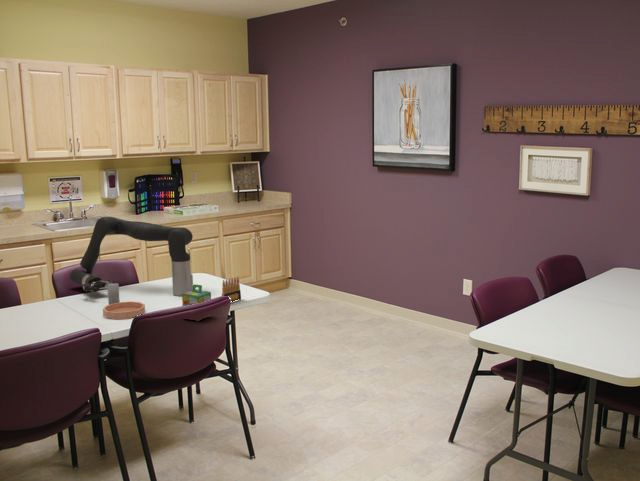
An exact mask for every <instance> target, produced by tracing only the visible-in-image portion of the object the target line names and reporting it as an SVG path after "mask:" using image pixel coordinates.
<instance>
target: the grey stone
mask: <svg viewBox="0 0 640 481" xmlns="http://www.w3.org/2000/svg"><path fill="white" fill-rule="evenodd" d="M119 288H120V287H119V283H117V282H115V283H111V284H108V285H107V300H108V305H110V304H114V303H119V302H121V301H120V289H119Z"/></svg>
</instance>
